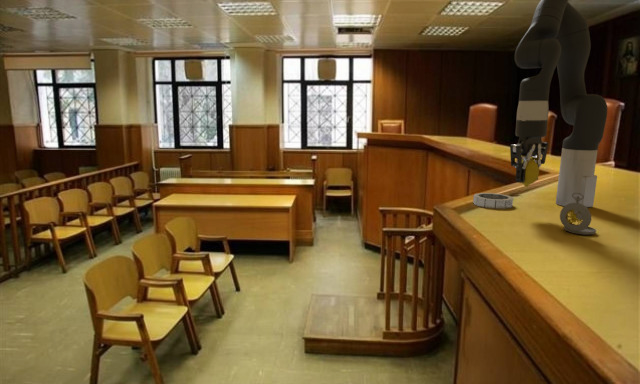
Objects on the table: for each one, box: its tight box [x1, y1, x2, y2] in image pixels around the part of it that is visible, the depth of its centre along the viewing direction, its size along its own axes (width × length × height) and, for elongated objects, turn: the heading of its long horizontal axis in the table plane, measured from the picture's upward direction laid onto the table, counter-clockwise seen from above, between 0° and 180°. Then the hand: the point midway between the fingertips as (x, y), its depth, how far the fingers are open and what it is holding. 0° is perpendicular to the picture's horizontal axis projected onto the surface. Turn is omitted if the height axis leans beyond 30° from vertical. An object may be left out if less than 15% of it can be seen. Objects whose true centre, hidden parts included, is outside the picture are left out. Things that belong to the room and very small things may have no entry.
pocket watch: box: [559, 193, 597, 236], centre depth 103 cm, size 8×8×10 cm
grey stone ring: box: [472, 192, 514, 210], centre depth 133 cm, size 11×11×2 cm
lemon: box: [521, 158, 540, 188], centre depth 119 cm, size 6×6×8 cm
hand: (526, 181), depth 119 cm, fingers closed on lemon, 5 cm apart
